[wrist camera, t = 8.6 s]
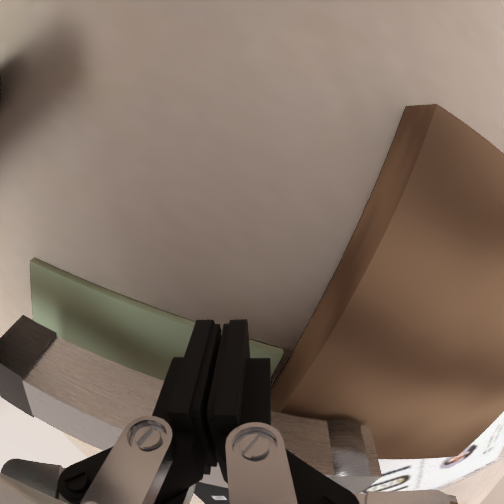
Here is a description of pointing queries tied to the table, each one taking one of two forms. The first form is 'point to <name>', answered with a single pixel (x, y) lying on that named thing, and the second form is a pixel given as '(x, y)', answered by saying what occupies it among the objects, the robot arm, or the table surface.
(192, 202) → the table surface
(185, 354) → the robot arm
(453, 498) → the gray dispenser tower
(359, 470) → the folding leg
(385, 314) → the brown flat wooden board
